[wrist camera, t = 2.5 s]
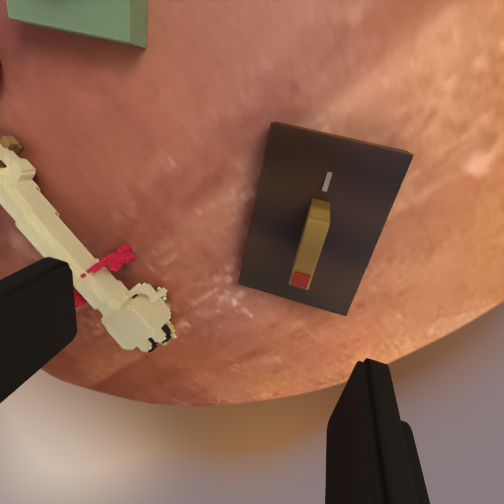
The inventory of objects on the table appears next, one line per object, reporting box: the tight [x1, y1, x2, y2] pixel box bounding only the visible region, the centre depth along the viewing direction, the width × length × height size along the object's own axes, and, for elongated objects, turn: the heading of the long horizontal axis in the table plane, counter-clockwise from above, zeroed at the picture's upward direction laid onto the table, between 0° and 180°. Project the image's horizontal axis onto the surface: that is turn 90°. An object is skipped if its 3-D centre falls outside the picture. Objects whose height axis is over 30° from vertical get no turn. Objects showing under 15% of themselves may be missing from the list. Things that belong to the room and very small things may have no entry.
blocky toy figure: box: [0, 136, 177, 353], centre depth 29 cm, size 10×9×25 cm
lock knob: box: [289, 198, 330, 290], centre depth 22 cm, size 5×1×5 cm, turn 169°
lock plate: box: [238, 122, 413, 316], centre depth 25 cm, size 14×10×2 cm
